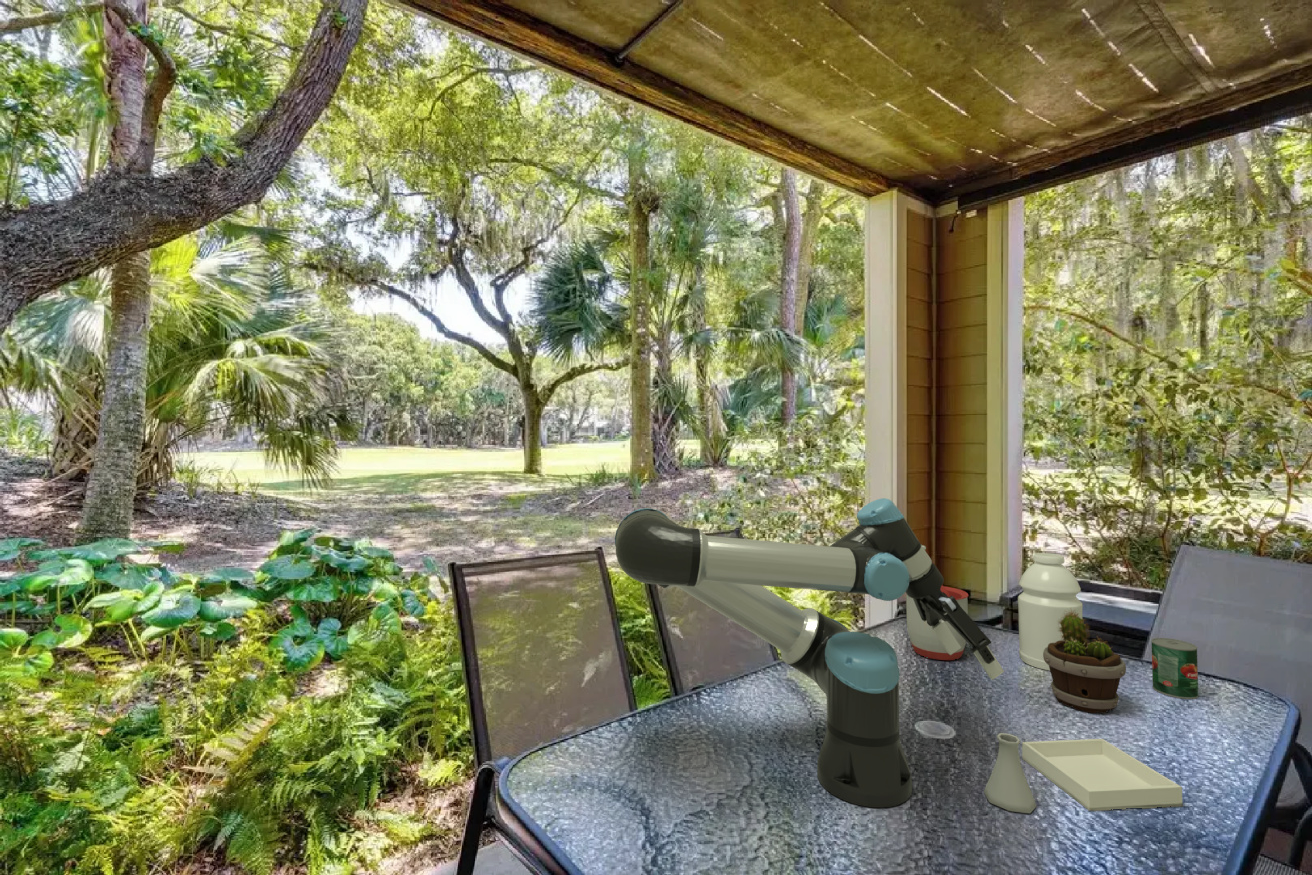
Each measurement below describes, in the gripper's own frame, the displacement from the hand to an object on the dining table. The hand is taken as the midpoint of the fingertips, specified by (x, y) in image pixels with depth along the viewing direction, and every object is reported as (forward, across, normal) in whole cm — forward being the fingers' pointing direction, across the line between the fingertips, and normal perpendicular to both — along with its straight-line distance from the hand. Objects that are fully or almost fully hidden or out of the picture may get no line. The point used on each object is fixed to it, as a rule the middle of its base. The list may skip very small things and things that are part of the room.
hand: (975, 662), depth 114 cm
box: (+18, -16, -1) cm, 24 cm away
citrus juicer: (+21, +45, -7) cm, 50 cm away
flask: (+9, -20, +14) cm, 26 cm away
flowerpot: (+29, +12, -19) cm, 37 cm away
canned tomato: (+43, +16, -40) cm, 61 cm away
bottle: (+34, +35, -28) cm, 57 cm away
